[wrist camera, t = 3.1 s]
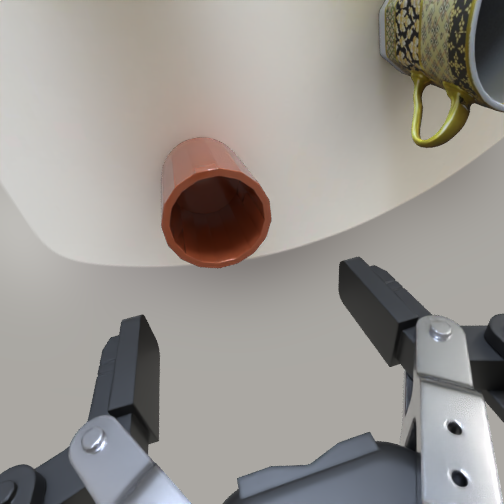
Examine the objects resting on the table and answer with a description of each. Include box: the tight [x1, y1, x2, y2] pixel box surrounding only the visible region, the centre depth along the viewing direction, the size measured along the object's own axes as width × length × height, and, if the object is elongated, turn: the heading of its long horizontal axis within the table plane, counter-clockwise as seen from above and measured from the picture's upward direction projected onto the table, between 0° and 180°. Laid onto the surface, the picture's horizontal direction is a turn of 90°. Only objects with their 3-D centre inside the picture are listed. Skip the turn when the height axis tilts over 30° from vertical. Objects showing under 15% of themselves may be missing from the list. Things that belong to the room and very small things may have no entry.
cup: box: [161, 137, 271, 268], centre depth 21 cm, size 6×6×8 cm
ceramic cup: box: [379, 0, 504, 148], centre depth 19 cm, size 13×10×10 cm
